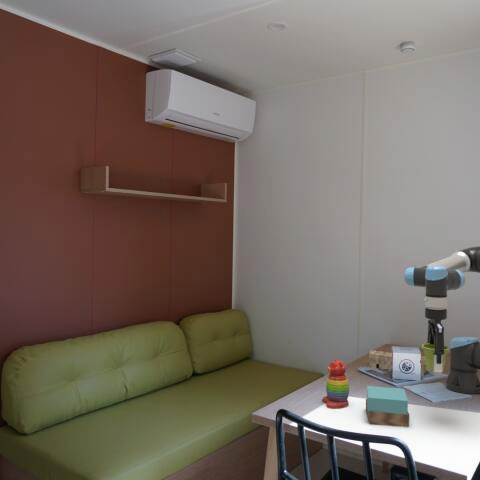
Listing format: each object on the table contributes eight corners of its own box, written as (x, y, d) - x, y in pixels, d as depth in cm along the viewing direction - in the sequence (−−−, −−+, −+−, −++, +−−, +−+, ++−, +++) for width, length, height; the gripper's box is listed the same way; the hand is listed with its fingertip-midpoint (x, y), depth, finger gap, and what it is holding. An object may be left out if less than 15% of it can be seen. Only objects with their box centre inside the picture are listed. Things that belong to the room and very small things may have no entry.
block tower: (367, 369, 258) (426, 376, 243) (367, 353, 258) (426, 359, 243) (371, 365, 265) (429, 372, 250) (371, 350, 265) (429, 355, 250)
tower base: (402, 413, 194) (402, 401, 194) (408, 428, 180) (409, 414, 180) (365, 411, 196) (365, 399, 196) (369, 425, 182) (369, 411, 182)
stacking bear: (321, 399, 208) (321, 357, 208) (344, 399, 209) (345, 357, 208) (327, 408, 197) (328, 364, 197) (352, 408, 198) (353, 364, 198)
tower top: (403, 401, 193) (404, 388, 193) (407, 414, 180) (407, 401, 180) (367, 398, 197) (367, 385, 196) (367, 410, 183) (367, 397, 183)
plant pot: (447, 367, 187) (448, 344, 186) (449, 374, 178) (449, 350, 178) (421, 365, 190) (421, 342, 190) (421, 371, 181) (422, 348, 181)
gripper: (419, 303, 194) (418, 360, 195) (432, 312, 173) (431, 376, 174) (439, 303, 193) (438, 361, 194) (454, 313, 172) (453, 377, 173)
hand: (435, 368), depth 184 cm, fingers closed on plant pot, 8 cm apart
